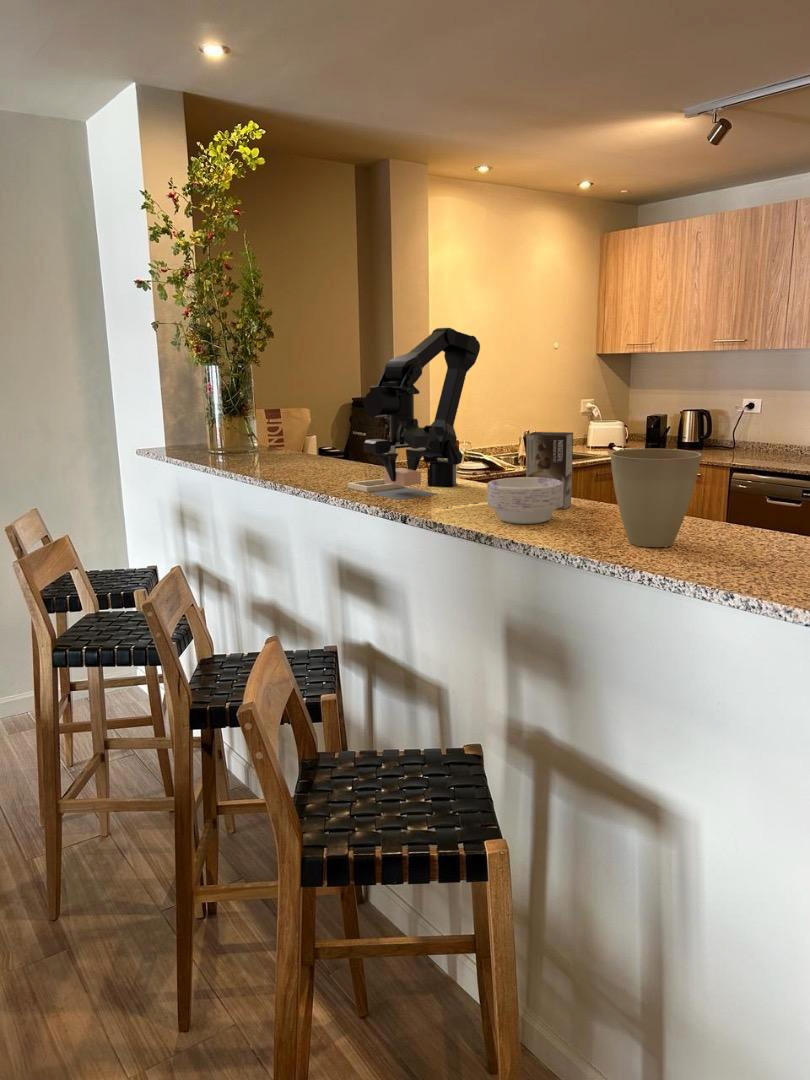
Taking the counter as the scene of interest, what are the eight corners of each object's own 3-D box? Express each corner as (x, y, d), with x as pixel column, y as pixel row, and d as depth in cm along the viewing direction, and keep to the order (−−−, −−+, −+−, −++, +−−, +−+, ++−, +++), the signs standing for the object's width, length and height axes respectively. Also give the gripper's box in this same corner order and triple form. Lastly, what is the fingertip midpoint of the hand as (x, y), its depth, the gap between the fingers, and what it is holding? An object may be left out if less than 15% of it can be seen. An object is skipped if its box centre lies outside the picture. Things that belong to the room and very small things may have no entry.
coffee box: (572, 504, 174) (574, 432, 170) (565, 509, 168) (567, 434, 164) (532, 502, 177) (534, 430, 174) (524, 506, 172) (526, 433, 168)
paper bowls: (473, 516, 162) (474, 478, 160) (537, 510, 168) (538, 474, 166) (509, 530, 148) (510, 489, 146) (577, 524, 154) (579, 484, 152)
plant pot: (631, 530, 147) (636, 446, 143) (709, 542, 137) (716, 452, 133) (590, 544, 137) (594, 453, 133) (670, 558, 126) (677, 460, 123)
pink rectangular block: (420, 483, 185) (420, 471, 184) (403, 486, 182) (403, 473, 181) (401, 479, 191) (400, 467, 190) (384, 481, 188) (384, 469, 187)
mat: (439, 496, 186) (439, 489, 185) (398, 502, 179) (398, 494, 178) (382, 484, 204) (381, 477, 204) (343, 489, 197) (342, 482, 197)
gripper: (388, 418, 171) (390, 488, 175) (454, 414, 182) (454, 480, 185) (361, 415, 180) (362, 482, 183) (425, 411, 190) (425, 475, 194)
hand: (402, 480), depth 186 cm, fingers closed on pink rectangular block, 5 cm apart
